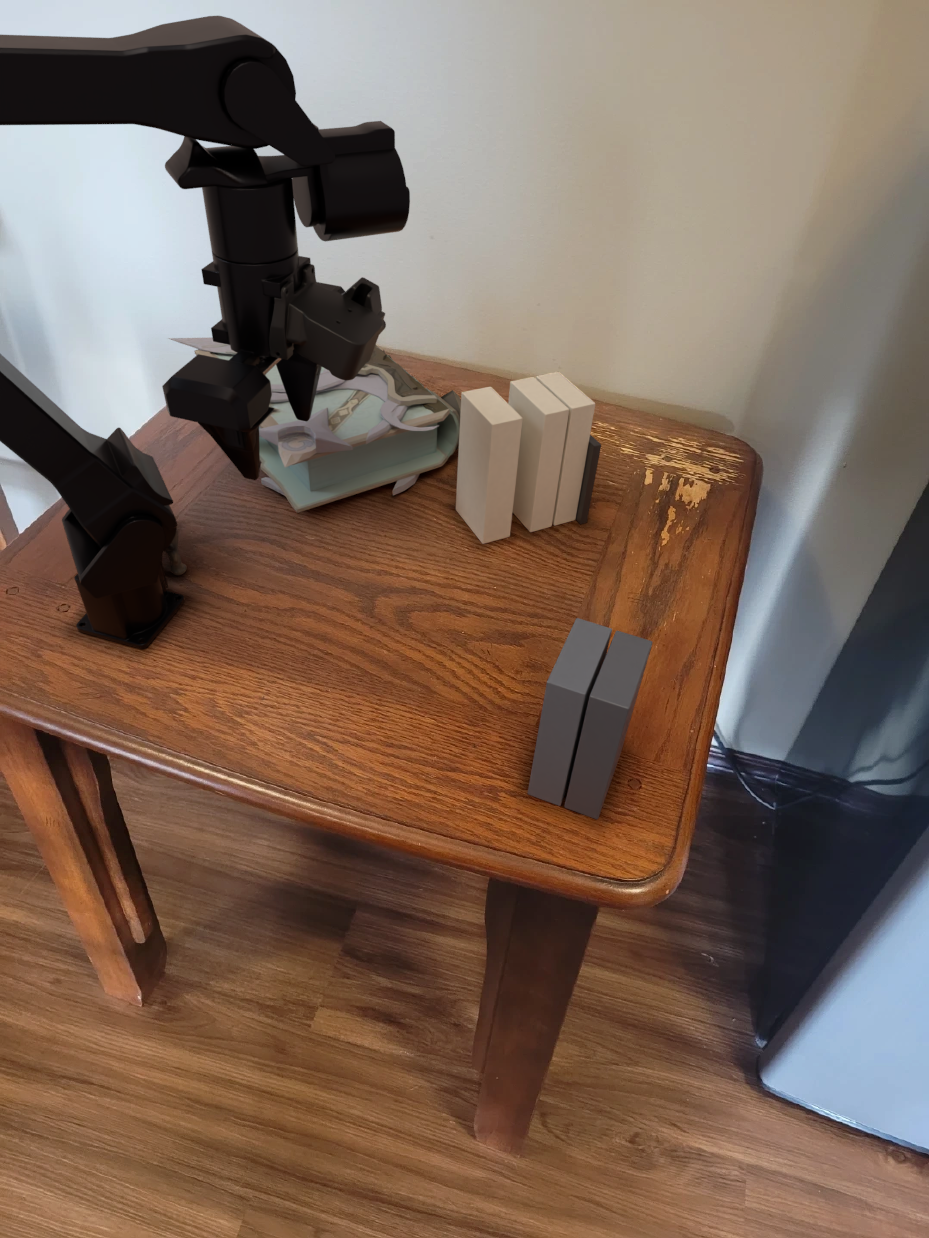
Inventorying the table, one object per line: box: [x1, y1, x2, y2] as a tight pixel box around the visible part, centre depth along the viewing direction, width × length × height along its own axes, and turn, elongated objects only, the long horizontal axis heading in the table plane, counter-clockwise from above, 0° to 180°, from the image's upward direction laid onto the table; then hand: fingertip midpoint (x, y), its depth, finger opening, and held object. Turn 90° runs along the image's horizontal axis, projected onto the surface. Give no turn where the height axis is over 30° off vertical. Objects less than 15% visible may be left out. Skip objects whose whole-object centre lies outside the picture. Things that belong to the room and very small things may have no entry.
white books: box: [507, 371, 602, 533], centre depth 81 cm, size 6×8×13 cm
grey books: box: [527, 617, 654, 820], centre depth 58 cm, size 5×6×12 cm
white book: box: [455, 386, 522, 545], centre depth 79 cm, size 3×6×13 cm, turn 26°
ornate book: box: [167, 337, 461, 514], centre depth 91 cm, size 23×10×30 cm
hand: (278, 447), depth 68 cm, fingers open, 9 cm apart
